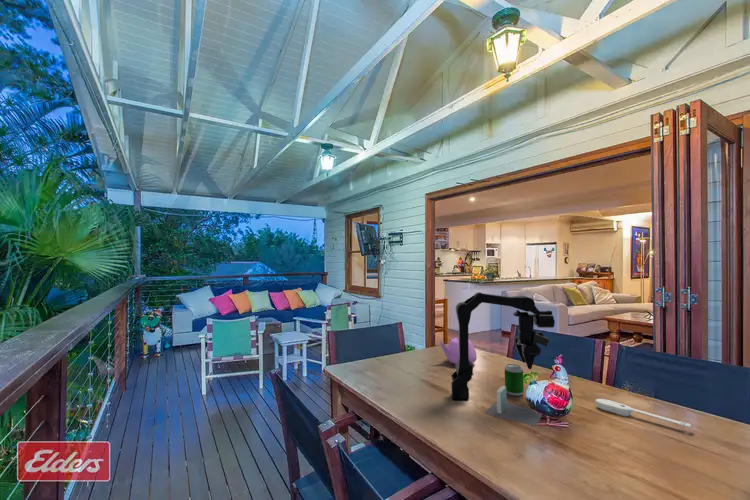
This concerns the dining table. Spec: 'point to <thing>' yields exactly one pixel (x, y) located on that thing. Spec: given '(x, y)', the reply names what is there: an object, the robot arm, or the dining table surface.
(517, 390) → the soda can
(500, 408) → the tile
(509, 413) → the mat
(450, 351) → the teapot
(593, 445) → the dining table surface
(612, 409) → the spatula
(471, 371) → the robot arm
